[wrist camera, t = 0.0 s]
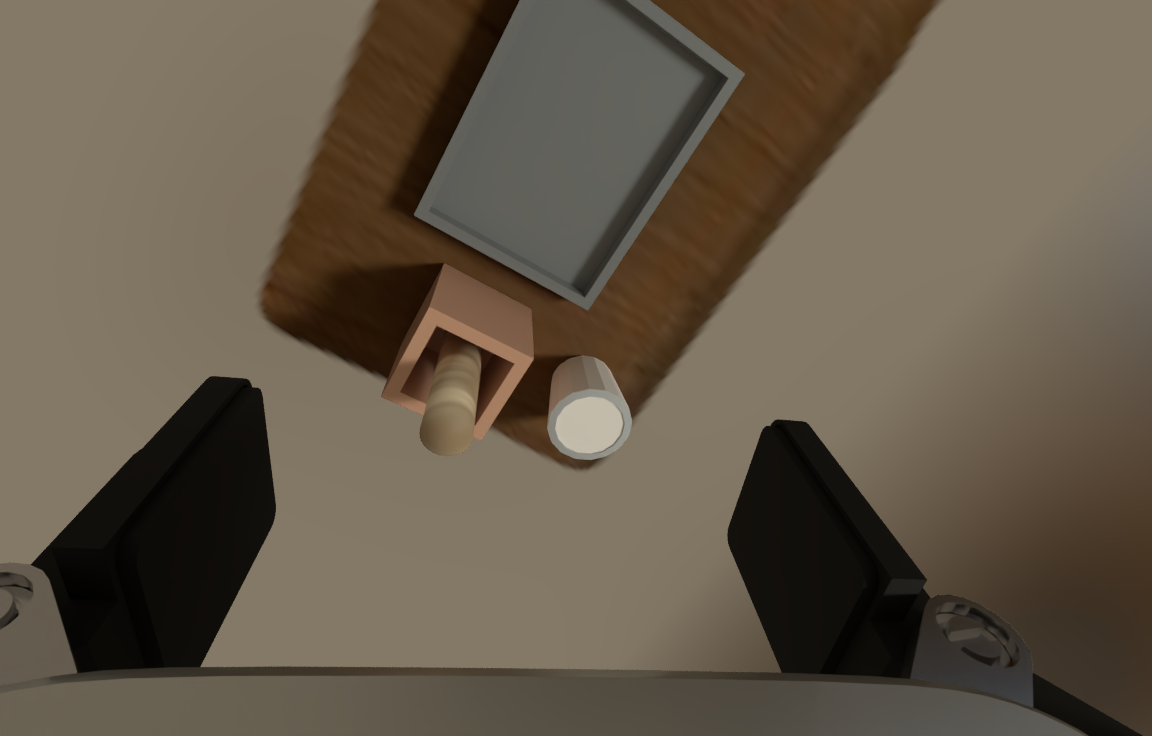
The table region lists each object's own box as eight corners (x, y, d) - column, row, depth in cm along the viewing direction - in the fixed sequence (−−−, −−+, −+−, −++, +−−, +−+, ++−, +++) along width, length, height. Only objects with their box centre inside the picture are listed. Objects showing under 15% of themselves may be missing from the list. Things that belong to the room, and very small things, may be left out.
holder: (444, 263, 47) (429, 306, 40) (531, 309, 50) (534, 358, 42) (402, 341, 50) (380, 396, 42) (486, 381, 53) (481, 440, 45)
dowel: (438, 323, 49) (409, 426, 36) (472, 306, 48) (455, 404, 35) (459, 353, 50) (438, 463, 37) (492, 337, 50) (482, 442, 37)
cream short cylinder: (528, 386, 54) (529, 430, 47) (580, 334, 51) (589, 373, 45) (582, 427, 56) (590, 474, 50) (635, 379, 54) (649, 422, 48)
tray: (553, -66, 38) (555, -73, 36) (733, 72, 43) (745, 74, 40) (418, 207, 45) (413, 215, 43) (584, 298, 50) (587, 310, 48)
